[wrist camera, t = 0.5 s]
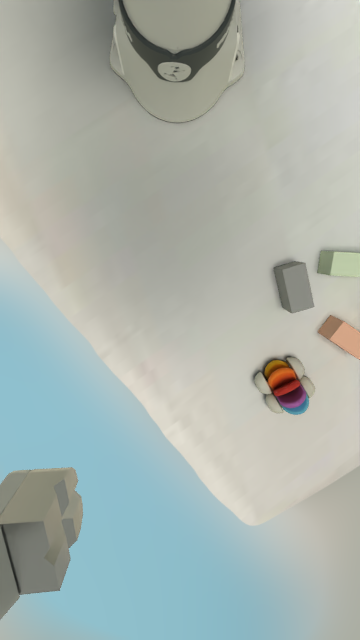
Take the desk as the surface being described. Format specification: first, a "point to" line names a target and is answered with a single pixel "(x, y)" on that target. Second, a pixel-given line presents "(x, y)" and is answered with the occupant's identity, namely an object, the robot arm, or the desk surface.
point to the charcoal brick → (294, 286)
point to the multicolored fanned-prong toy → (285, 386)
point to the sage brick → (339, 263)
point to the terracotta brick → (342, 335)
